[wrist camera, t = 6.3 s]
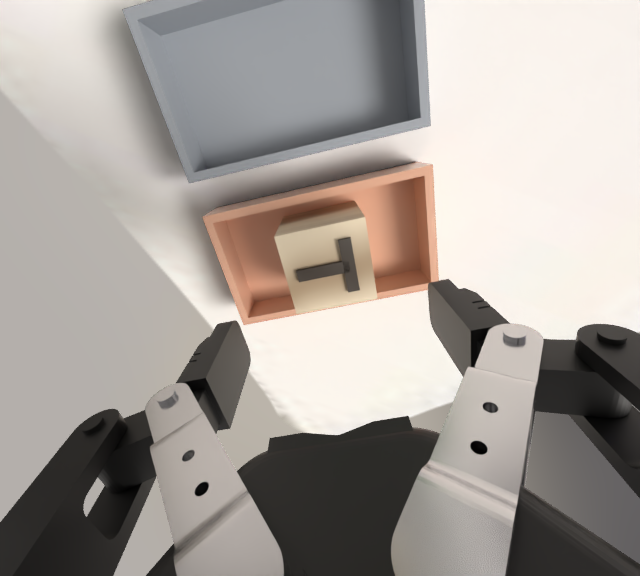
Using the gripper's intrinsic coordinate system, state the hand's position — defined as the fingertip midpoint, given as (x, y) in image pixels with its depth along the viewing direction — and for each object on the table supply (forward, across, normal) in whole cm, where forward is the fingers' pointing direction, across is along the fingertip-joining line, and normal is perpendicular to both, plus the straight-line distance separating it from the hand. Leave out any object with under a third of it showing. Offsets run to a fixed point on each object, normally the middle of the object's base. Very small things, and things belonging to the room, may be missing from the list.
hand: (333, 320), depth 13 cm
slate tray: (+11, 0, -10) cm, 15 cm away
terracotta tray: (+11, 0, 0) cm, 11 cm away
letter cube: (+10, 0, 0) cm, 10 cm away
